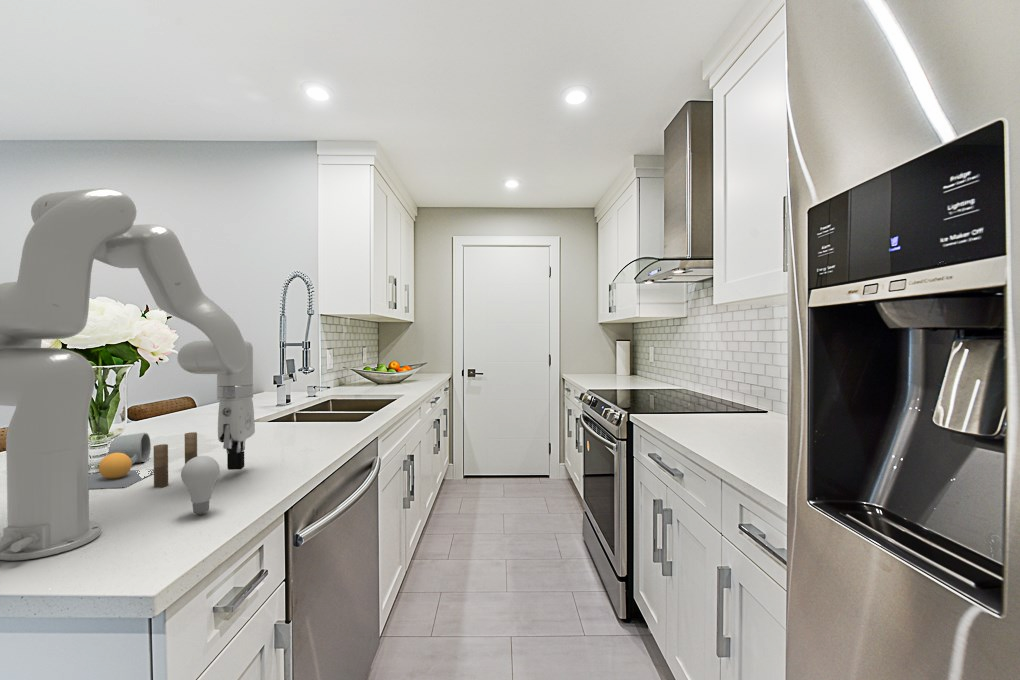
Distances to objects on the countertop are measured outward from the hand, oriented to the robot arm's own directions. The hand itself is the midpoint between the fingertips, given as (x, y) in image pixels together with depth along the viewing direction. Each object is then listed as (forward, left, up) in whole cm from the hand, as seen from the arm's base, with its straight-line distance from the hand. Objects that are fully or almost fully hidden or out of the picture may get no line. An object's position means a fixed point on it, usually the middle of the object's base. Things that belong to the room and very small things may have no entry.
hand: (236, 468), depth 115 cm
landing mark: (0, +27, -2) cm, 27 cm away
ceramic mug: (+14, +32, -2) cm, 35 cm away
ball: (+1, +27, +2) cm, 27 cm away
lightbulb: (-26, -4, -2) cm, 26 cm away
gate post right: (+7, +13, -2) cm, 15 cm away
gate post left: (-6, +13, -2) cm, 15 cm away
